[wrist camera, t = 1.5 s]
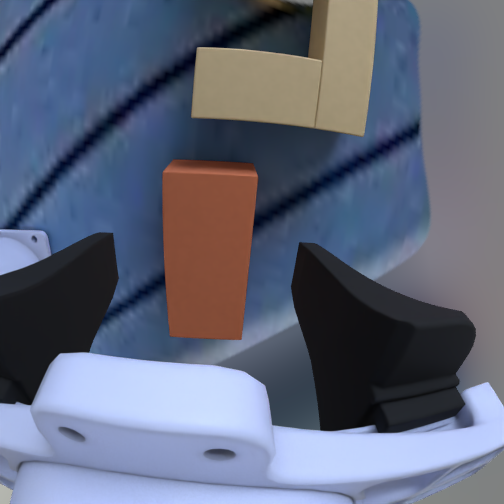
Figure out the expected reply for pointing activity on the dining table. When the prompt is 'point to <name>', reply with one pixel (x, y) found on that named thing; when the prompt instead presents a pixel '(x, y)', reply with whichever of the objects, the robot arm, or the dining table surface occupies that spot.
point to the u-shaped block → (296, 75)
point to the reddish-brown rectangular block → (207, 246)
